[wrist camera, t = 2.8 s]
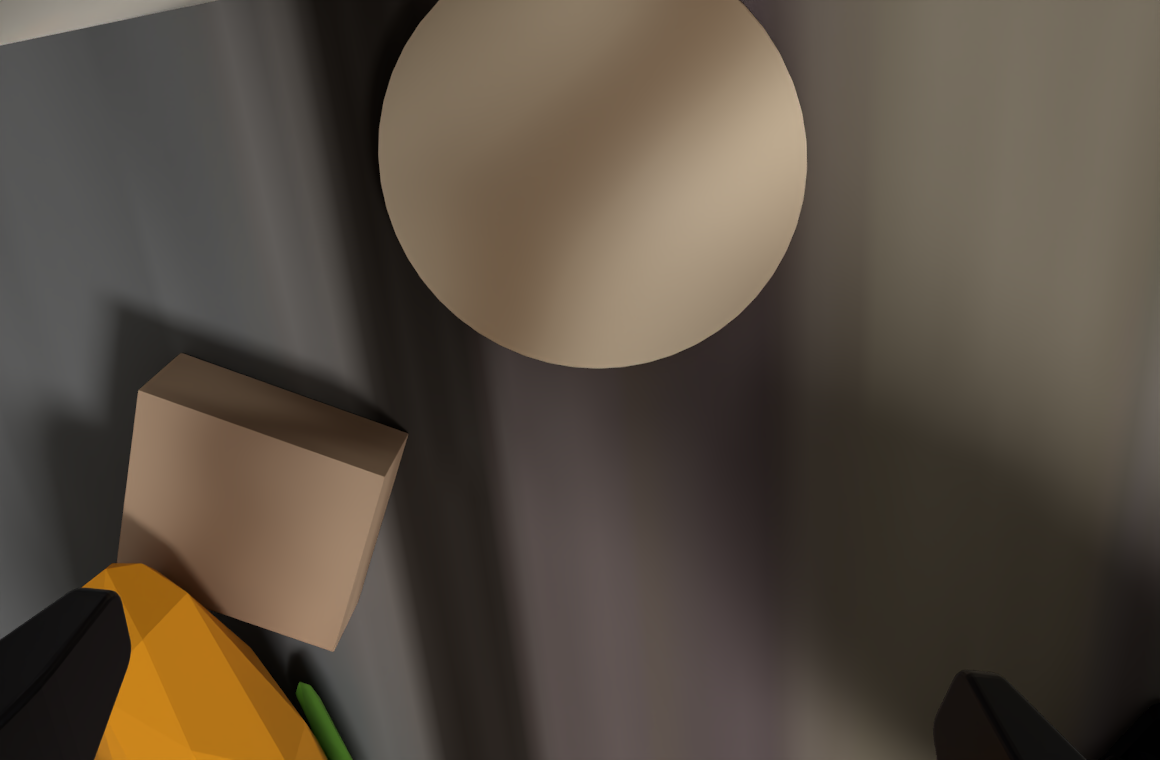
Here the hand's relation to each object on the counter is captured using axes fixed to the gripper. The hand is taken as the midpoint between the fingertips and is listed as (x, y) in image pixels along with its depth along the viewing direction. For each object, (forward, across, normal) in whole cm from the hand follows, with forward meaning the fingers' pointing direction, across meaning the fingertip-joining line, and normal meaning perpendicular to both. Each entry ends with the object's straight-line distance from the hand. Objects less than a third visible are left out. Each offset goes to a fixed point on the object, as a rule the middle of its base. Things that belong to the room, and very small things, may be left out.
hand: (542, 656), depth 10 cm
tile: (+12, +7, +9) cm, 17 cm away
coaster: (+12, 0, -1) cm, 12 cm away
